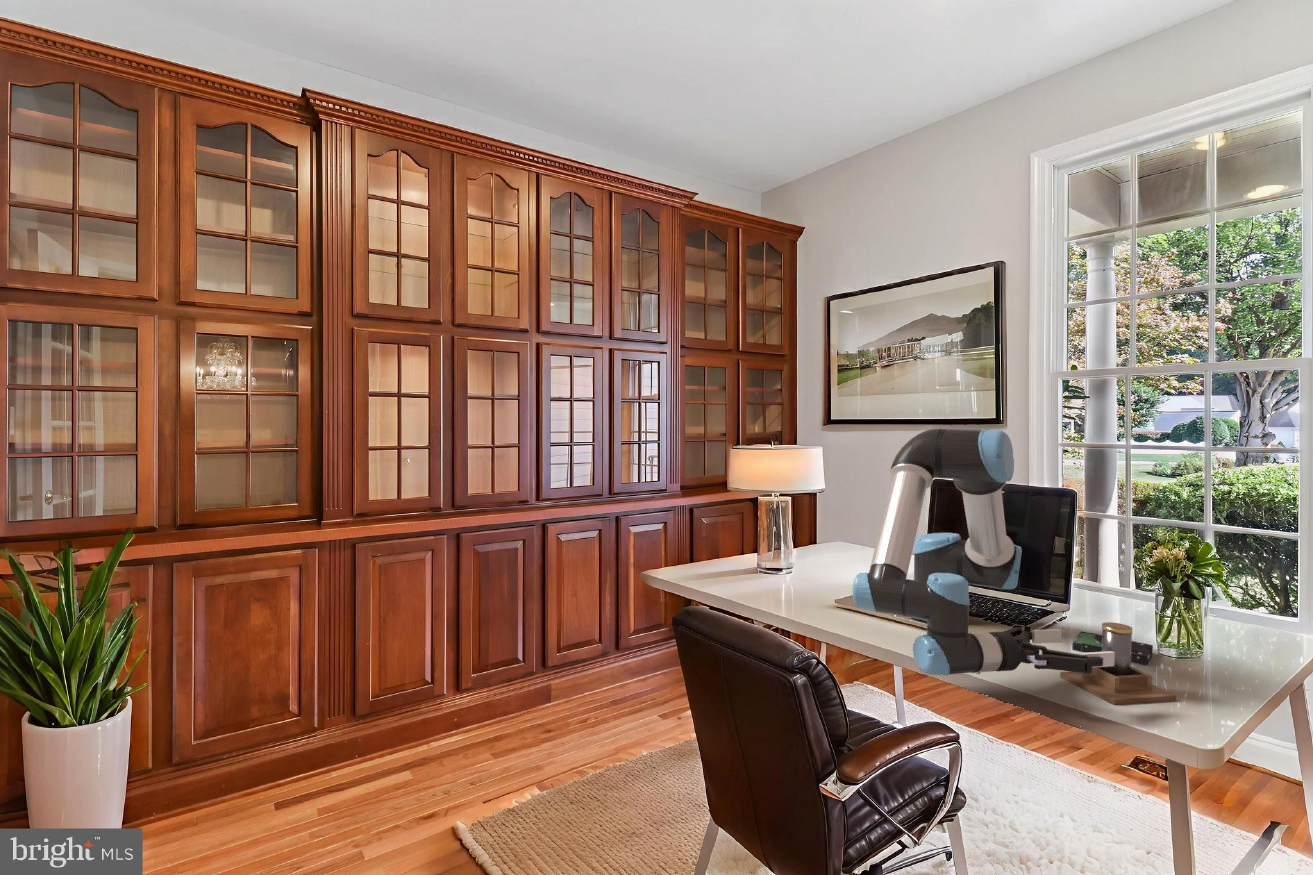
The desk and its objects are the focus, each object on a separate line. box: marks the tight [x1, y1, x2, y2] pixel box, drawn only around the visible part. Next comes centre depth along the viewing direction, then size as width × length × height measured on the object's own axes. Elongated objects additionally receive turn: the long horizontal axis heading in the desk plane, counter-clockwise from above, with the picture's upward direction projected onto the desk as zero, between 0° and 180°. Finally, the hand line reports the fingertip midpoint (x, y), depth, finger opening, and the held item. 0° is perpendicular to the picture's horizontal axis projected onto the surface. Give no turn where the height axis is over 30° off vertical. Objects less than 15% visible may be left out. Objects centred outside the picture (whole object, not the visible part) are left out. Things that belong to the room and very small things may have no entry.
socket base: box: [1059, 666, 1177, 706], centre depth 139 cm, size 14×14×4 cm
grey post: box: [1101, 621, 1133, 676], centre depth 139 cm, size 5×5×12 cm
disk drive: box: [1071, 631, 1154, 666], centre depth 160 cm, size 10×3×15 cm
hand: (1085, 646), depth 137 cm, fingers open, 13 cm apart
